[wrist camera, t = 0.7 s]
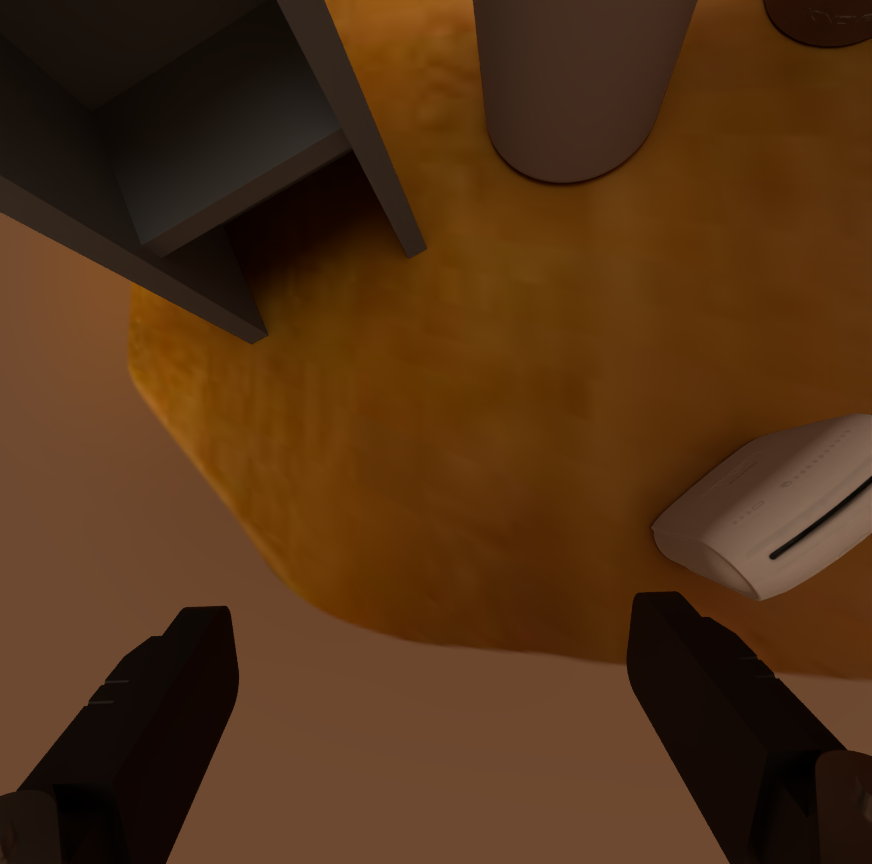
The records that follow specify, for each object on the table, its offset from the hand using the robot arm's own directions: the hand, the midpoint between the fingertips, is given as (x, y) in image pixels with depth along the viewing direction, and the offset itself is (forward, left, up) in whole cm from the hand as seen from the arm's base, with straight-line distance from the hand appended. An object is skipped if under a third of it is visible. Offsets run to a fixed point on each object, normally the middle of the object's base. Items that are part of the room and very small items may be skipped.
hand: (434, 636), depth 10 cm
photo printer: (-6, +13, -25) cm, 29 cm away
